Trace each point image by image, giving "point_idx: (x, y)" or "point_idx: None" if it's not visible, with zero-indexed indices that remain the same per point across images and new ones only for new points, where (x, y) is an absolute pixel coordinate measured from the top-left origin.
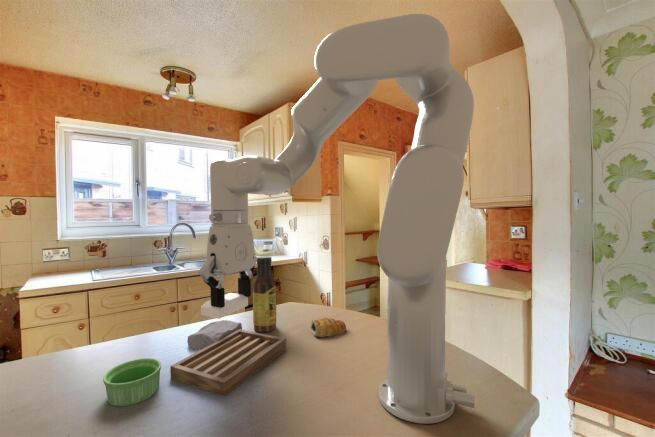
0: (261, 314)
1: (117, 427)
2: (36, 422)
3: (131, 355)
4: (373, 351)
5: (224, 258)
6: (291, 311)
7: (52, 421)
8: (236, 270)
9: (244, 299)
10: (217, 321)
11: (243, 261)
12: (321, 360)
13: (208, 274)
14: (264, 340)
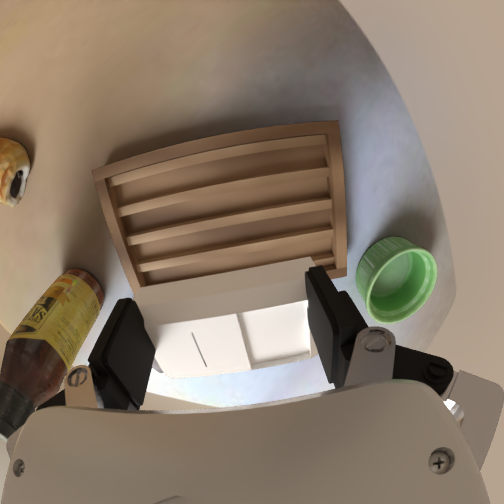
0: (78, 306)
1: (436, 206)
2: (446, 291)
3: (314, 372)
4: (30, 32)
5: (482, 496)
6: (15, 305)
7: (443, 281)
8: (270, 421)
9: (150, 304)
10: (160, 371)
11: (141, 497)
12: (99, 63)
13: (464, 395)
14: (123, 224)
